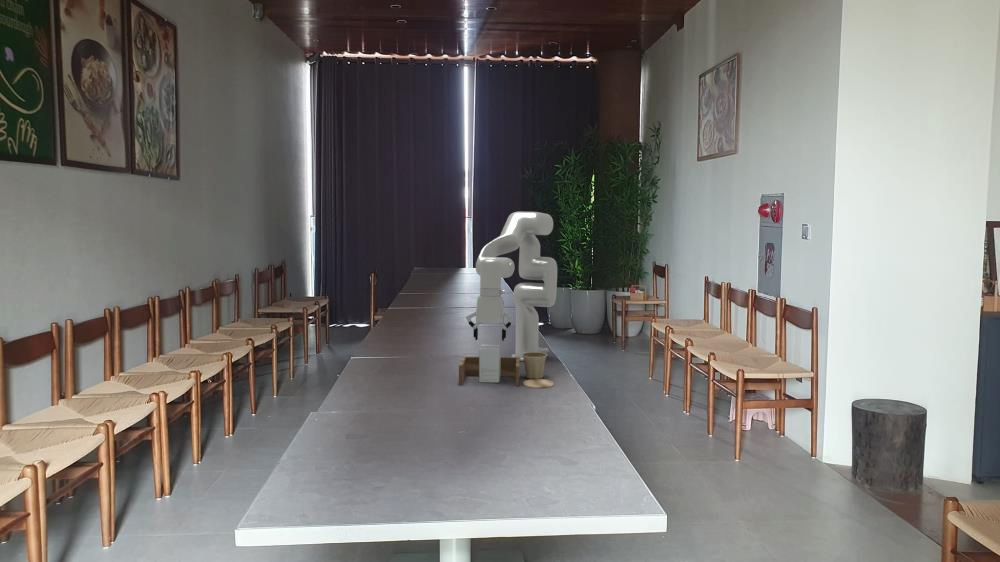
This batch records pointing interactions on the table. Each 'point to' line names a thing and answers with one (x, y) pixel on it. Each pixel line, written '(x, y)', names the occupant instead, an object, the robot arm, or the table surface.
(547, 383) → the coaster
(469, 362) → the brown angled piece
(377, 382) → the table surface
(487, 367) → the supplement box
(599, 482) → the table surface
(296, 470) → the table surface
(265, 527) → the table surface
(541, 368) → the flower pot
